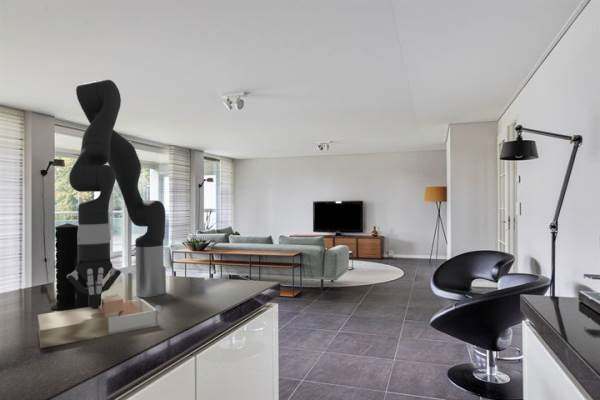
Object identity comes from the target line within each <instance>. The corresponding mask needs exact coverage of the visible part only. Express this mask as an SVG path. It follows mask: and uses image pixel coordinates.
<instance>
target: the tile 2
mask: <svg viewBox="0 0 600 400" xmlns="http://www.w3.org/2000/svg"><path fill="white" fill-rule="evenodd" d="M124 302H125V303H124V304H123V308H124V311H119V312H117V315H118V316H124V315H130V314H136V313H137V312H138V310H139V309H140V308H139V307H138V306H137V305H136V304H135V303H133V302H132V300H130V299H127V300H125V301H124Z"/></svg>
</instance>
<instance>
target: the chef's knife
mask: <svg viewBox="0 0 600 400" xmlns="http://www.w3.org/2000/svg"><path fill="white" fill-rule="evenodd" d="M153 307H154V308H155V309H156V310H157V315H159V314H160V313H161V311H162V306H161V305H159V304H156V305H155V306H153Z"/></svg>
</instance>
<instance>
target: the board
mask: <svg viewBox="0 0 600 400" xmlns="http://www.w3.org/2000/svg"><path fill="white" fill-rule="evenodd" d="M37 333H38V339H39V347H40V349H44V348H48V347H53V346H58V345H59V346H60V345H65V344H69V343H74V342H79V341H80V342H81V341H85V340H91V339H94V338H95V337H96V338H101V337H106V336H110V335H109V319H108V317H107V316H106V315H105V314H104V312H103V311H102V310H101V309H100V307H99V309H92V308H91V307H86V308H79V309H72V310H63V311H53V312H48V313H41V314H37ZM96 338H95V339H96Z"/></svg>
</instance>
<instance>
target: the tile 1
mask: <svg viewBox="0 0 600 400" xmlns="http://www.w3.org/2000/svg"><path fill="white" fill-rule="evenodd" d="M123 302H124V299H123V298H122V297H121V295H120V296H119V295H118V296H113V297H106V298H101V305H102V311H103V312H104V314H108V313H114V312H119V311H124V308H123Z"/></svg>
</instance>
